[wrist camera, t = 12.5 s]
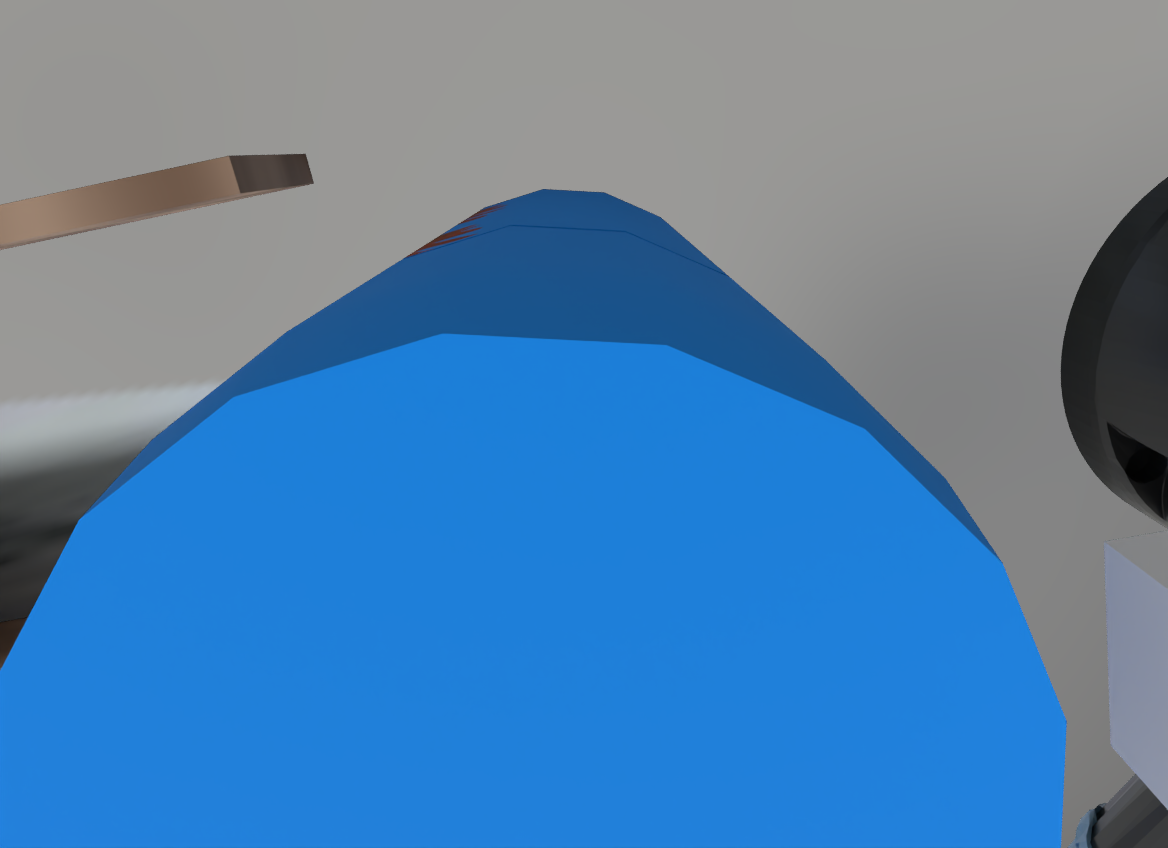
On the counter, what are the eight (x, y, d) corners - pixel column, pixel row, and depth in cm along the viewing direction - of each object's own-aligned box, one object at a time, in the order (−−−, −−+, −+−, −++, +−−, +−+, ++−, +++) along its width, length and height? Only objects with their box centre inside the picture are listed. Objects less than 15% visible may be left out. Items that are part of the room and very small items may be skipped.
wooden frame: (305, 154, 31) (220, 156, 23) (421, 567, 35) (380, 676, 28) (-212, 264, 32) (-447, 299, 24) (-33, 651, 36) (-186, 777, 29)
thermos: (760, 400, 33) (1217, 1038, 9) (508, 520, 35) (352, 1340, 11) (633, 127, 30) (827, 54, 7) (364, 270, 32) (-284, 638, 8)
